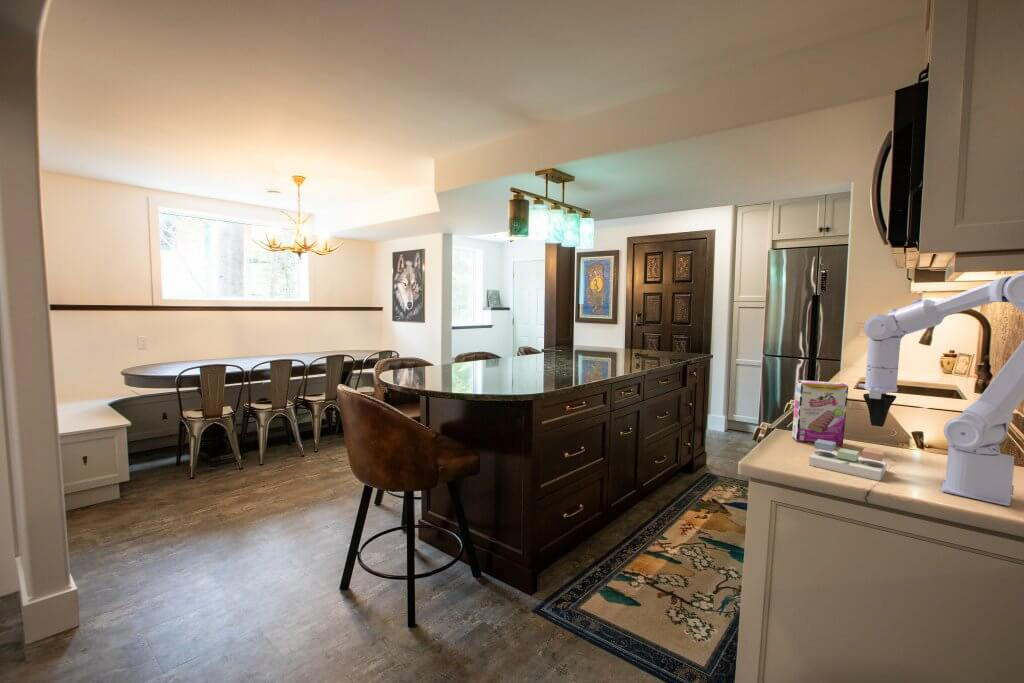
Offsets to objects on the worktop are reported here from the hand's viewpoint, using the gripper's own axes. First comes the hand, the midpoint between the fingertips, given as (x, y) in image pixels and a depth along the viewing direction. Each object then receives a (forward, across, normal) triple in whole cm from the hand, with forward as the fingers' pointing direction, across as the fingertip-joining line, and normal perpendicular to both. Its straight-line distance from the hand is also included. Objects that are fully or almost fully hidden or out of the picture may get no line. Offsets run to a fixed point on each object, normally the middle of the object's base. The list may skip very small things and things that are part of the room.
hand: (877, 425), depth 108 cm
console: (+9, +7, -4) cm, 12 cm away
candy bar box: (+10, -12, -14) cm, 21 cm away
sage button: (+7, +7, -4) cm, 11 cm away
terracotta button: (+6, +7, +1) cm, 9 cm away
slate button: (+6, +7, -9) cm, 12 cm away
